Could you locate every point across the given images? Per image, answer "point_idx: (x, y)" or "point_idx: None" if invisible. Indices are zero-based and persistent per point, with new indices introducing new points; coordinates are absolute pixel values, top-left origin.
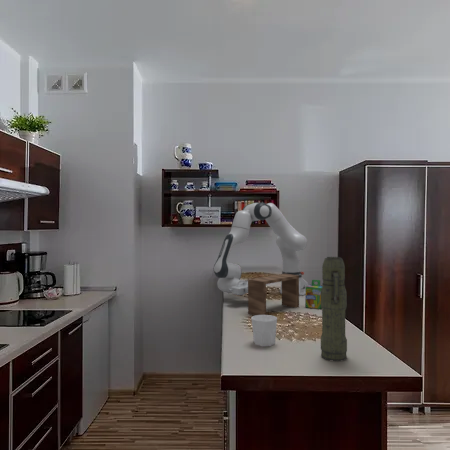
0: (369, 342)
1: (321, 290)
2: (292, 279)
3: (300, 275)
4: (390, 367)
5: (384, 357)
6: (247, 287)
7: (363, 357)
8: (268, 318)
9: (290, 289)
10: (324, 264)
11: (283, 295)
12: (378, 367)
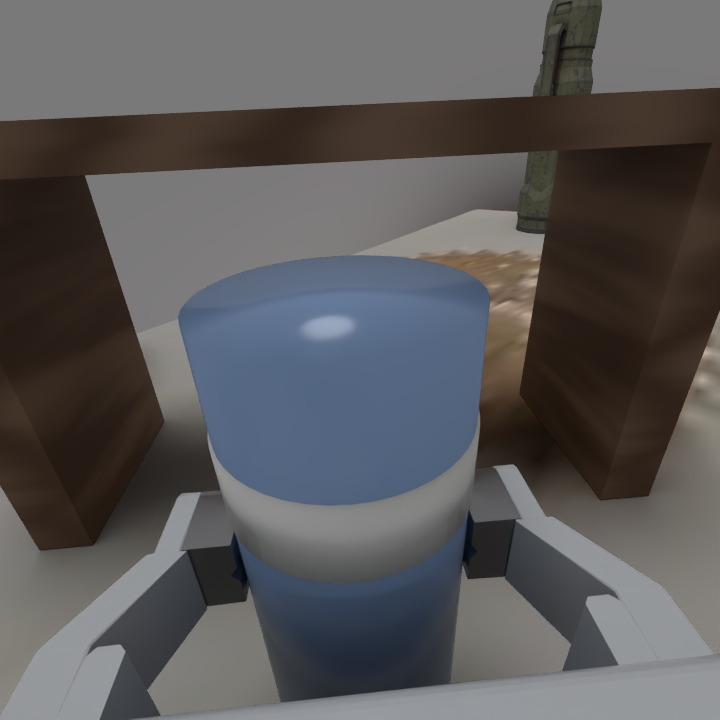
0: (413, 235)
1: (590, 77)
2: (59, 186)
3: None
4: (485, 215)
5: (458, 221)
6: (595, 670)
7: (491, 223)
8: None
9: (87, 310)
10: (601, 3)
11: (64, 435)
12: (501, 216)
